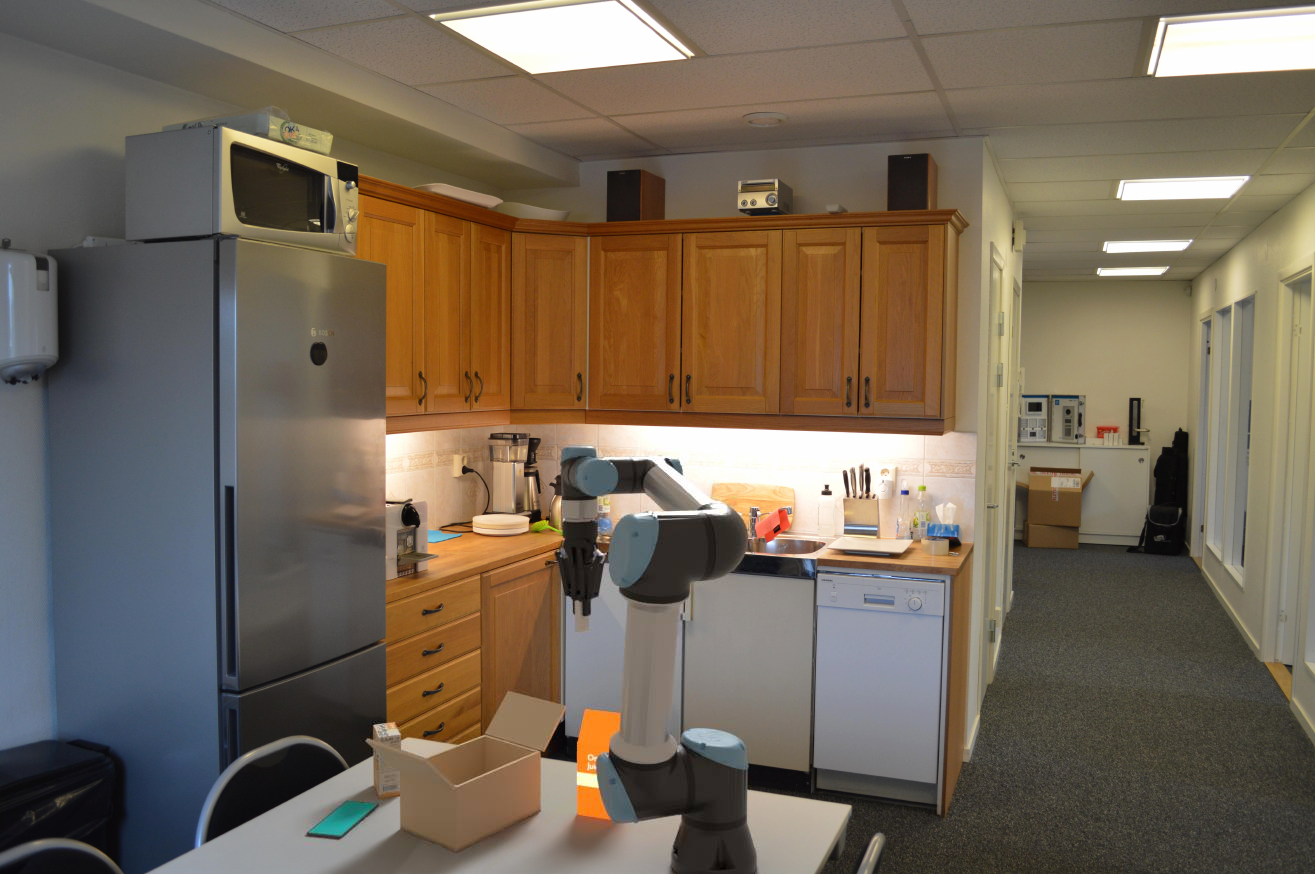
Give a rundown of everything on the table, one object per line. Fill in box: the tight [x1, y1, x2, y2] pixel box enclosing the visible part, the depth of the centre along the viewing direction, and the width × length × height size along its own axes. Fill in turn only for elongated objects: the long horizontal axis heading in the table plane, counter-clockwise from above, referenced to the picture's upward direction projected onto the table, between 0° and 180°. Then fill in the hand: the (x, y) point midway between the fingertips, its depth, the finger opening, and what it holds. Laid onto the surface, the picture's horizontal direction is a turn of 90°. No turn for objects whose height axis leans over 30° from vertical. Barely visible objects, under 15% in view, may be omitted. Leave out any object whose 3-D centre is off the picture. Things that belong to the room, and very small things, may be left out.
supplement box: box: [372, 721, 402, 800], centre depth 196 cm, size 8×5×13 cm, turn 25°
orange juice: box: [576, 709, 620, 821], centre depth 187 cm, size 8×9×20 cm
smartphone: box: [306, 800, 380, 840], centre depth 182 cm, size 7×1×15 cm
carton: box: [399, 734, 542, 853], centre depth 182 cm, size 16×22×12 cm
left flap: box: [365, 738, 456, 790], centre depth 170 cm, size 17×10×1 cm
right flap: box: [484, 690, 567, 753], centre depth 194 cm, size 17×10×1 cm
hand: (582, 630), depth 196 cm, fingers closed
